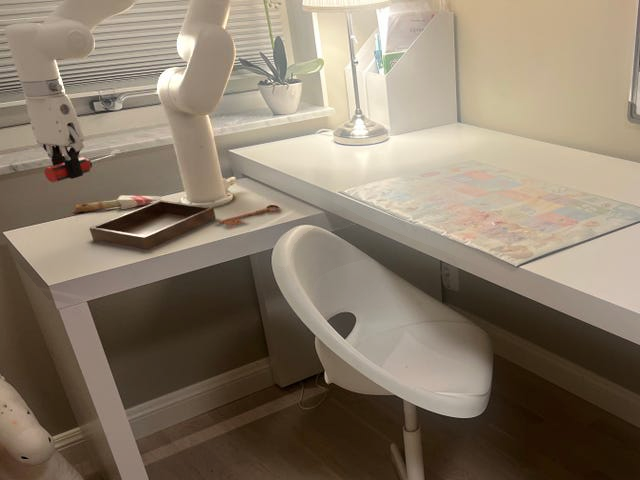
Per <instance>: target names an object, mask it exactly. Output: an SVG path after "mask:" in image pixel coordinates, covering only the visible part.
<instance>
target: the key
mask: <svg viewBox="0 0 640 480" xmlns="http://www.w3.org/2000/svg"><path fill="white" fill-rule="evenodd" d="M272 208H274V209H272ZM279 211H281V207H280V206H278V205H276V204H270V205H267V206H266V207H265V208H262V209H258V210H255V211H251V212H248V213H243V214H240V215H237V216H233V217H229V218H225V219H222V220H219V221H218V223H219V224H220V225H221V224H224V225H226V226H227V227H234V226H238V225H241V224H245V222H244V221H243V220H242V219H244V218H249V217H251V216H256V215H260V214H263V213H266V212H267V213H268V212H269V213H276V212H279Z"/></svg>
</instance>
